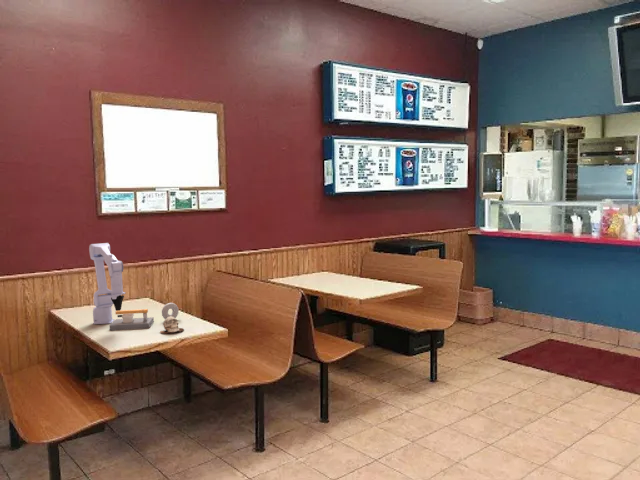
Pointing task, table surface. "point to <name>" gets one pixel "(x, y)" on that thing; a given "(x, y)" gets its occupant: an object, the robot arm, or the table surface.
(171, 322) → the skull
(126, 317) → the plug
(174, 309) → the donut
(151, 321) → the socket block
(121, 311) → the orange paddle handle
